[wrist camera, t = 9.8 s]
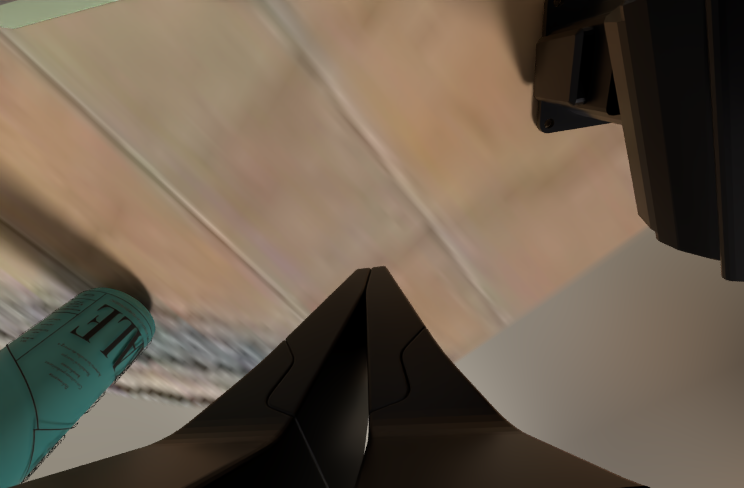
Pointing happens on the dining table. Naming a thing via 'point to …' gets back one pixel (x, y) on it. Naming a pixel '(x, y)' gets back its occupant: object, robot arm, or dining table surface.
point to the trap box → (40, 10)
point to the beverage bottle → (64, 373)
